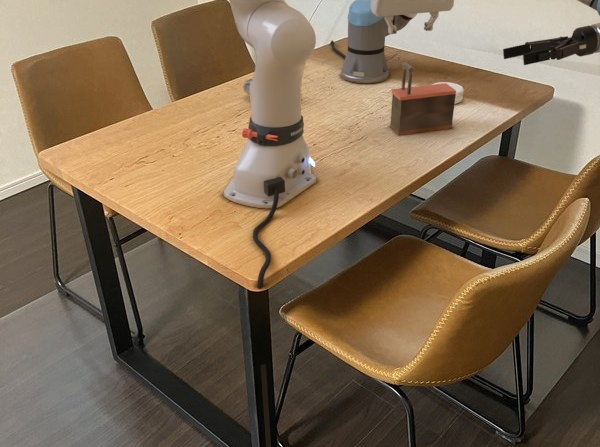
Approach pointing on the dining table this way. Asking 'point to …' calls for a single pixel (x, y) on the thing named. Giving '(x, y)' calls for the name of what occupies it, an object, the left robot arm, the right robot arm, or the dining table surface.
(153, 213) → the dining table surface
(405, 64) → the lid
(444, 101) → the chest
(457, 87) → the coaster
